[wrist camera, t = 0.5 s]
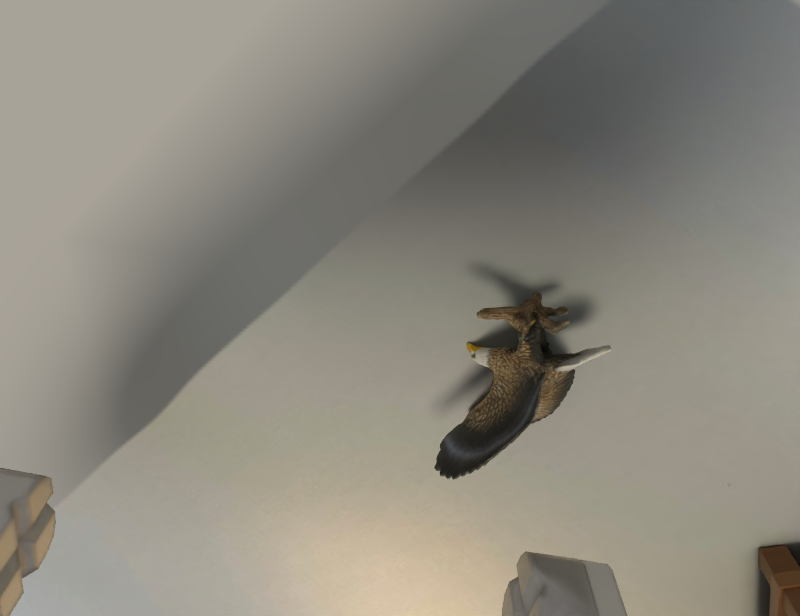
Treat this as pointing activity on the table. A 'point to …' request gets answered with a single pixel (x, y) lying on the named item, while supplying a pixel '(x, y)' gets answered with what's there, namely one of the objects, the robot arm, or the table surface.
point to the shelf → (781, 580)
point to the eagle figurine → (513, 387)
